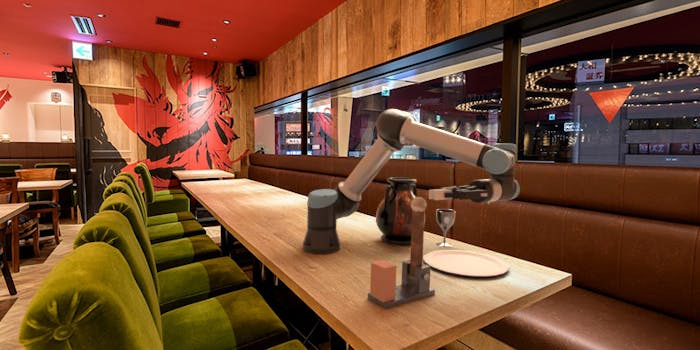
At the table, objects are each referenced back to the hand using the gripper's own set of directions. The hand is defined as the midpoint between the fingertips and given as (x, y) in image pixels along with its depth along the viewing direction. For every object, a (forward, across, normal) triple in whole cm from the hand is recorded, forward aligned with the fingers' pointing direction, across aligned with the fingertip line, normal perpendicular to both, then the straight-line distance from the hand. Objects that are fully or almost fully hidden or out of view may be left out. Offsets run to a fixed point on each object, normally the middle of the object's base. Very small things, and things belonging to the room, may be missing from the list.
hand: (432, 194), depth 103 cm
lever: (+5, 0, -22) cm, 23 cm away
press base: (+10, 0, -28) cm, 30 cm away
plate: (-28, +10, -29) cm, 41 cm away
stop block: (+17, 0, -26) cm, 32 cm away
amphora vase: (-28, +45, -28) cm, 60 cm away
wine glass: (-42, +31, -28) cm, 60 cm away
